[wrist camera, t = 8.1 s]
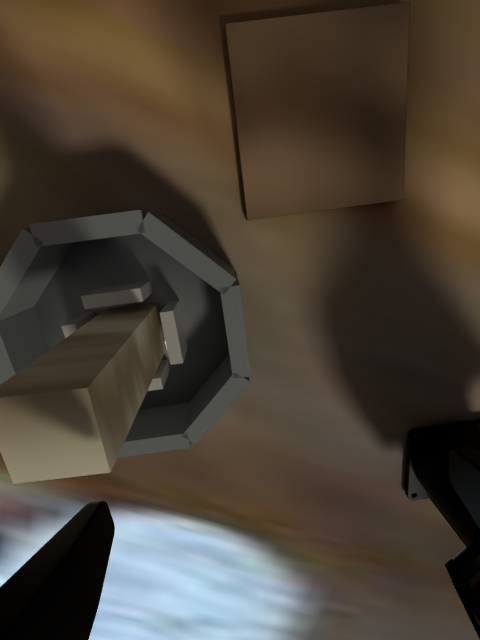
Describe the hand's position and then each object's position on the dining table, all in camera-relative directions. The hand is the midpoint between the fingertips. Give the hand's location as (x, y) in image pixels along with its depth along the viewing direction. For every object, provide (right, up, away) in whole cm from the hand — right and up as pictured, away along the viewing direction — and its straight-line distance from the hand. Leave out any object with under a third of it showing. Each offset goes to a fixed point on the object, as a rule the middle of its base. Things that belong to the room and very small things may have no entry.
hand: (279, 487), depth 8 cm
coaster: (+3, +15, +9) cm, 18 cm away
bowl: (-7, +4, +11) cm, 14 cm away
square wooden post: (-7, +4, +11) cm, 13 cm away
